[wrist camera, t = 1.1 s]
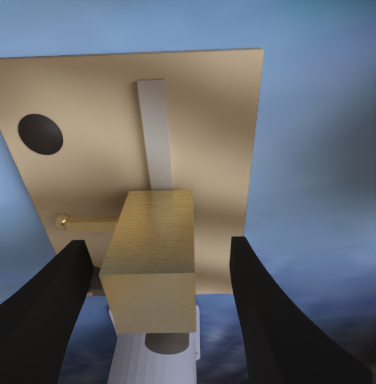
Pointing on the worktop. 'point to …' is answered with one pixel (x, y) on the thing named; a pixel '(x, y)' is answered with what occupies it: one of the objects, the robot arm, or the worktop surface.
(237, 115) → the tan base plate
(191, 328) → the block
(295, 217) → the worktop surface
